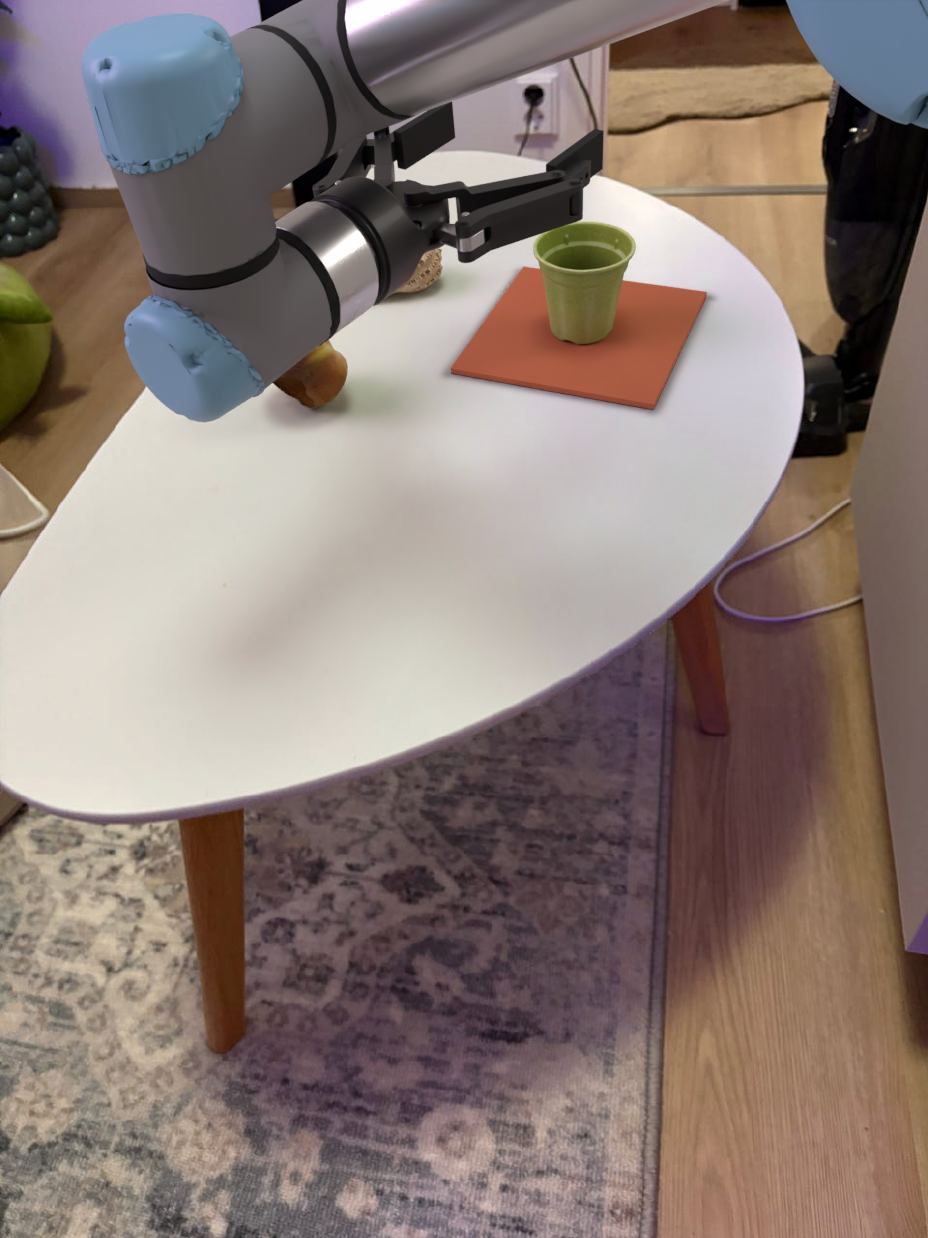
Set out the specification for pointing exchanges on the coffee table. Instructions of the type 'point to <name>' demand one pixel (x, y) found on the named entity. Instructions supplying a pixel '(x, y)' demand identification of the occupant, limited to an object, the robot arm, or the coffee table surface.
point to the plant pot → (583, 277)
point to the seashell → (424, 272)
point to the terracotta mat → (601, 370)
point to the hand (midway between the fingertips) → (521, 133)
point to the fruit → (315, 377)
